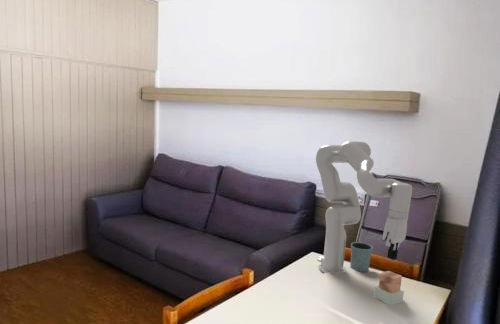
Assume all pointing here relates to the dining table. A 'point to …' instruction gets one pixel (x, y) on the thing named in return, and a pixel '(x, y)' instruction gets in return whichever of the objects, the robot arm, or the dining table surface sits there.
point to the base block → (388, 295)
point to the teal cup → (360, 256)
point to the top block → (390, 281)
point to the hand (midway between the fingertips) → (391, 258)
